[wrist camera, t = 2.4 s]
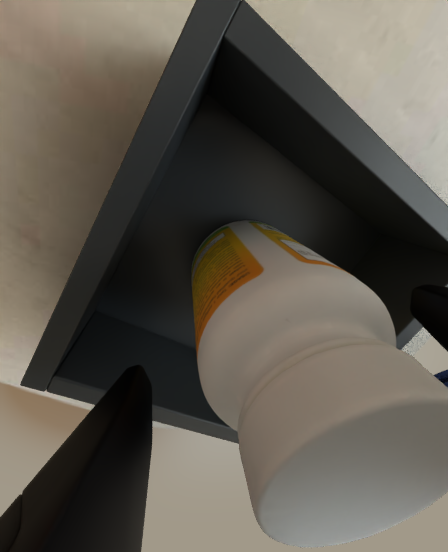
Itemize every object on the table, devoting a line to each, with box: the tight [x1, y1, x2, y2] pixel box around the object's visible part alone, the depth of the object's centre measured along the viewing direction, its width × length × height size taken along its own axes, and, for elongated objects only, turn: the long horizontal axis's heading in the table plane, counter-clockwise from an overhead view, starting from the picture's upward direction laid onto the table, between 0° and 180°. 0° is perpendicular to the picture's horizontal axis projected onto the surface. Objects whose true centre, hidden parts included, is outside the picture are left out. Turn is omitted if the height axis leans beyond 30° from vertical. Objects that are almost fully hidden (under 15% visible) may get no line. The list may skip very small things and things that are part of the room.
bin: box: [20, 0, 448, 444], centre depth 11 cm, size 13×13×5 cm
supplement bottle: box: [191, 220, 448, 547], centre depth 8 cm, size 5×5×10 cm
